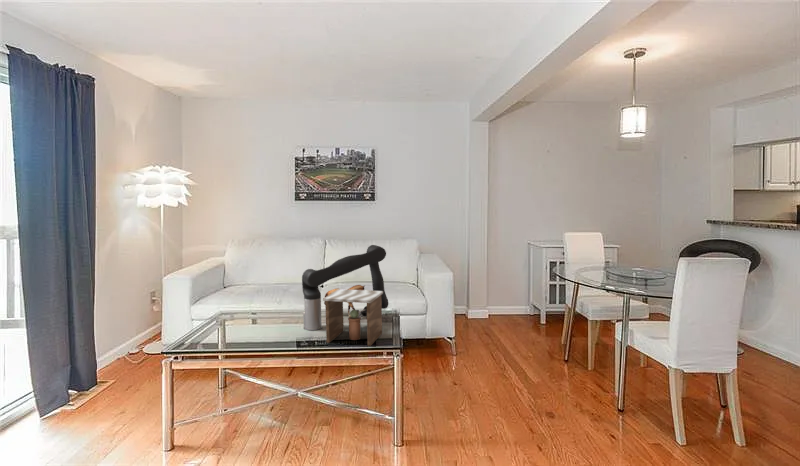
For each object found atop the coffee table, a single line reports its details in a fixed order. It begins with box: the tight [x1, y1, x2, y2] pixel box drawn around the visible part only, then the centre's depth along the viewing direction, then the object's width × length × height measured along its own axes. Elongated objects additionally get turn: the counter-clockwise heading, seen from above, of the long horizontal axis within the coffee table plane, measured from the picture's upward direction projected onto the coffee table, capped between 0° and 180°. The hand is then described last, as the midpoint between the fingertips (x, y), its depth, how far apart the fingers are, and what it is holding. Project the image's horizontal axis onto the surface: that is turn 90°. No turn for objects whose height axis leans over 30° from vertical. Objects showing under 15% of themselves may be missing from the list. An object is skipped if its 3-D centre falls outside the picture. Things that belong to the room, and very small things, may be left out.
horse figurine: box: [323, 284, 366, 317], centre depth 291 cm, size 31×8×21 cm, turn 61°
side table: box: [322, 288, 383, 347], centre depth 249 cm, size 25×22×23 cm
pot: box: [347, 309, 362, 341], centre depth 250 cm, size 7×7×15 cm
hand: (362, 317), depth 262 cm, fingers open, 8 cm apart
